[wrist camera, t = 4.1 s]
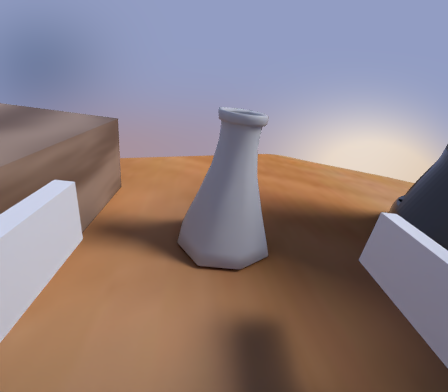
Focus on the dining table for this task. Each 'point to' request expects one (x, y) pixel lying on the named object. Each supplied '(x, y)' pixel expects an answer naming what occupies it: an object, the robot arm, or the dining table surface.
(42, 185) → the walnut block
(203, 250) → the flask
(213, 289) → the dining table surface
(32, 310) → the dining table surface
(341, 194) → the dining table surface
